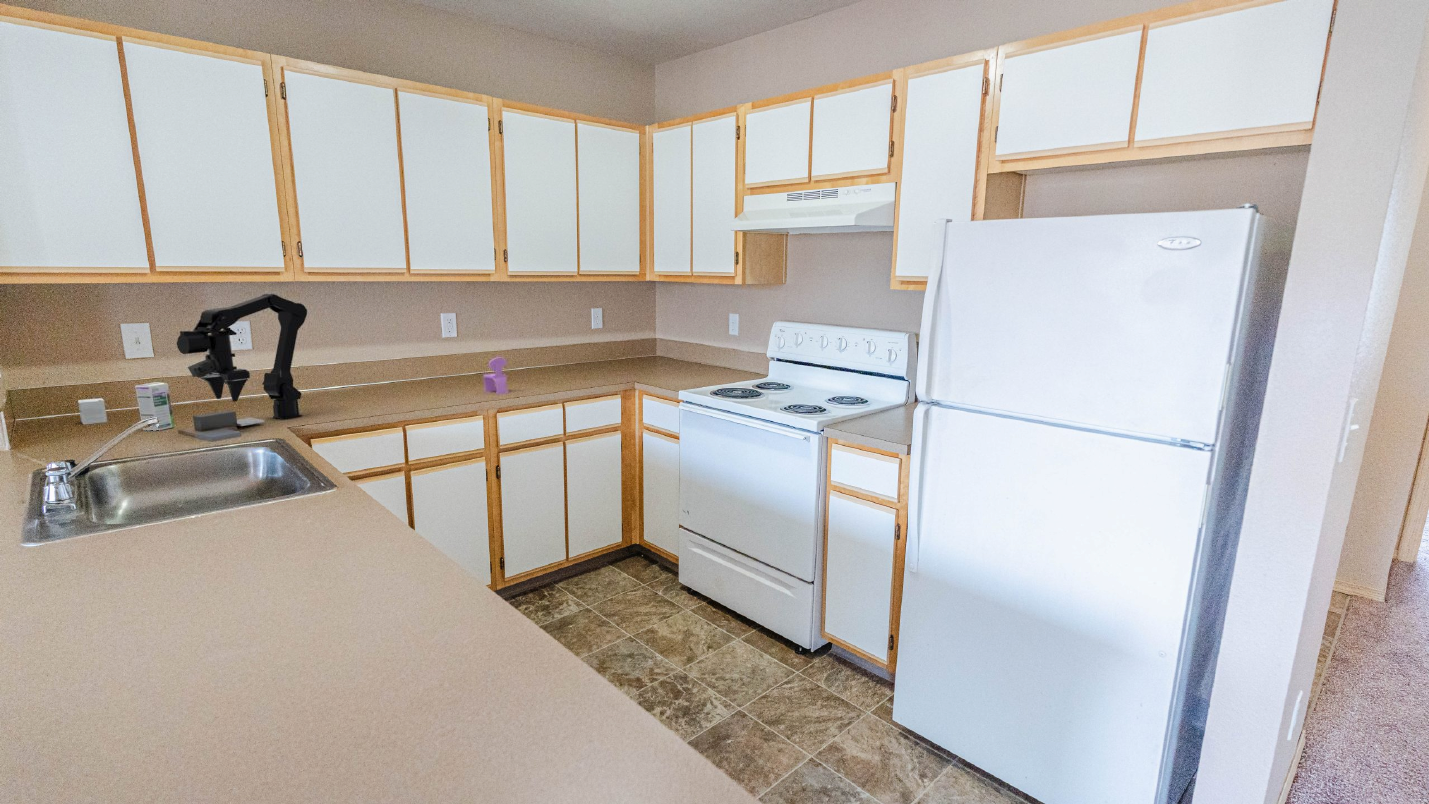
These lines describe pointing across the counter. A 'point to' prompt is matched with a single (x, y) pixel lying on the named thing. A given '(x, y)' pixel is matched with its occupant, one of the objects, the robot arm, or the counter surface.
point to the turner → (220, 421)
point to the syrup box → (155, 404)
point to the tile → (218, 435)
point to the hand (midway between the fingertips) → (226, 400)
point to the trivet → (192, 431)
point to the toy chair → (496, 377)
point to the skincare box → (92, 411)
